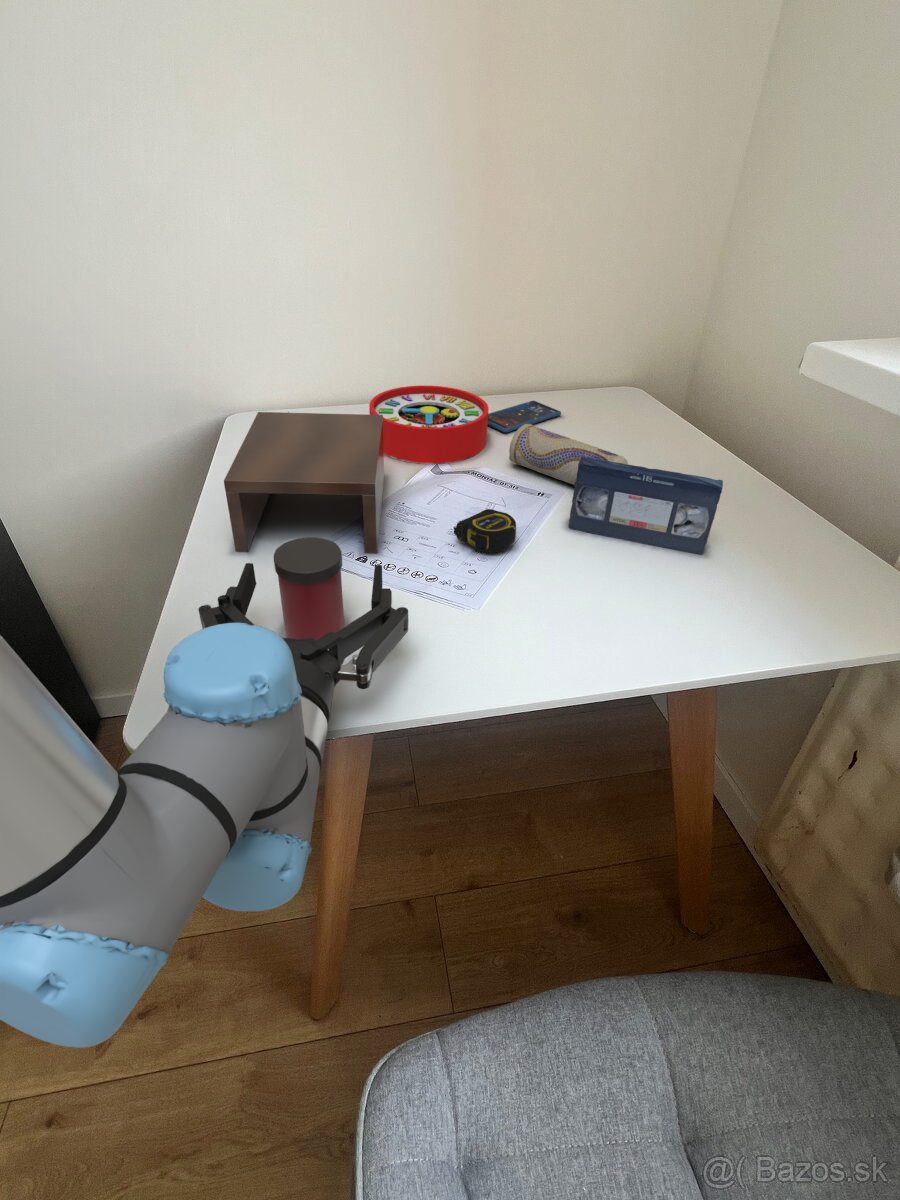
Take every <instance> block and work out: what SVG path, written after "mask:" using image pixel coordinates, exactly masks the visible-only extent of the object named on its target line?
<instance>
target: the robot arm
mask: <svg viewBox="0 0 900 1200" xmlns="http://www.w3.org/2000/svg"><path fill="white" fill-rule="evenodd" d="M373 570H374V571H373V581H372V591H371V599H370V600H371V601H370V602H371V603H370V605H371V609H370V610H368V611H367V612H365V613H364V614H362V615H360V616H359V617H358V618H356V619H354V620H352V621H351V622H350V623H349V624H347V625H344V628H342V629H341V630H339V631H338V632H336V633H333V632H329V633H328V634H326V635H325V636H323V637H322V638H320V639H318V640H317V641H315V638H305V639H298V640H297V639H292V638H286V637H281V635H280V634H278V633H276V632H274V631H273V630H272V629H270V628H267V627H263V626H258V625H256V624H254V623H253V622H252V621H251V620H250V619H249V618H248V617H247V616H246V615H247V614H248V610H249V607H250V604H251V601H252V598H253V595H254V593H255V589H256V586H257V581H256V580H257V579H256V573H255V566H254V563H253V562H246V563H245V564H244V567H243V570H242V573H241V575H240V578H239V580H238V583H237V586H229V587H228V588H227V589H226V592H225V594H222V595H219V596H218V597H217V605H218V606H215V607H212V606H211V605H209V604H203V605H200V606H199V607H198V608H197V609H198V610H197V611H198V614H199V620H200V624H201V628H202V629H200V630H197V631H195V632H193V633H191V634H189V635H187V636H186V637H185V638H183V639H182V640H181V641H180V642H178V643H177V644H176V645H175V646H174V647H173V649H172V650H171V651H170V652H169V654H168V655H167V658H166V661H165V664H164V669H163V684H164V692H163V698H164V700H165V702H166V704H167V705H168V708H167V711H166V713H164V715H163V716H162V718H160V720H159V721H158V722H157V724H156V725H155V726H154V727H153V728H152V729H151V731H149V733H148V734H147V735H146V736H145V737H144V738H143V740H142V741H141V743H139V745H138V746H137V747H136V748H135V750H134V751H133V752H132V753H131V754H130V755H129V757H128V758H127V759H126V760H125V761H124V762H123V764H122V765H121V766H120V767H119V768H118V770H116V769H115V768H114V767H113V766H112V764H111V763H110V762H109V761H108V760H107V758H105V756H104V755H103V754H102V753H101V752H100V751H99V749H98V747H96V746H95V744H94V743H93V742H92V741H91V740H90V738H89V737H88V736H87V735H86V734H85V733H84V732H83V730H82V729H81V728H80V727H79V725H78V724H77V723H76V722H75V721H74V720H73V718H71V716H70V715H69V714H68V713H67V712H66V710H65V709H64V708H63V707H62V705H61V704H60V703H59V702H58V701H57V700H56V698H55V697H54V696H53V695H52V694H51V693H50V691H49V690H48V688H46V687H45V686H44V684H43V683H42V682H41V681H40V680H39V678H38V677H37V676H36V675H35V674H34V673H33V671H32V670H31V669H30V667H28V665H27V664H26V663H25V662H24V661H23V659H22V658H21V657H20V655H18V654H17V652H16V651H15V650H14V649H13V648H12V647H11V645H9V643H8V642H7V640H6V639H5V638H4V637H3V636H2V635H1V634H0V1021H1V1022H4V1023H5V1024H7V1025H9V1026H11V1027H12V1028H14V1029H16V1030H18V1031H20V1032H22V1033H24V1034H26V1035H29V1036H30V1037H33V1038H35V1039H38V1040H41V1041H43V1042H46V1043H48V1044H49V1043H50V1044H53V1045H57V1046H60V1047H67V1048H81V1049H82V1048H90V1047H94V1046H98V1045H100V1044H102V1043H104V1042H105V1041H107V1040H109V1039H110V1038H111V1037H112V1036H114V1034H115V1033H117V1032H118V1031H119V1029H120V1028H121V1027H122V1026H123V1024H124V1022H125V1021H126V1020H127V1018H128V1016H129V1015H130V1013H132V1011H133V1009H134V1008H135V1006H136V1005H137V1004H138V1002H139V1001H140V999H141V998H142V996H143V995H144V993H145V992H146V990H147V989H148V988H149V986H150V984H151V983H152V982H153V980H154V979H155V978H156V976H157V975H158V973H159V972H160V970H161V968H163V967H164V966H166V964H167V963H168V960H169V958H170V953H171V951H172V949H173V947H174V946H175V944H176V942H177V940H178V939H179V937H180V935H181V934H182V932H183V931H184V929H185V927H186V925H187V924H188V922H189V920H190V919H191V917H192V915H193V913H194V912H195V910H196V908H197V907H198V905H199V903H200V901H201V900H202V899H204V900H206V902H209V903H211V904H213V905H215V906H217V907H219V908H222V909H226V910H230V911H235V912H263V911H269V910H272V909H277V908H279V907H280V906H282V905H285V904H286V903H288V902H290V901H291V900H292V899H293V898H294V897H295V896H296V895H297V894H298V892H299V891H300V889H301V888H302V885H303V882H304V877H305V872H306V867H307V863H308V859H309V856H310V855H311V853H312V849H313V848H312V846H311V841H312V833H313V825H314V817H315V811H316V804H317V796H318V789H319V784H320V783H319V782H320V775H321V769H322V764H323V759H324V754H325V747H326V741H327V736H328V729H329V728H328V727H329V726H328V724H329V722H330V715H331V709H332V703H333V696H334V689H335V687H336V686H337V685H338V684H339V683H340V681H346V682H356V687H357V688H358V689H359V690H367V689H368V688H370V686H371V683H372V680H373V675H374V672H376V670H377V669H378V668H379V667H380V665H382V663H383V661H385V659H386V658H388V656H390V653H391V652H392V651H393V650H394V649H395V648H396V646H397V645H398V644H400V642H401V640H402V639H403V638H404V637H405V636H406V635H407V633H408V632H409V609H408V608H407V607H404V606H401V607H397V608H394V607H392V603H393V596H392V594H393V593H392V589H391V588H387V587H386V588H385V587H384V588H383V585H384V583H383V564H380V565H379V564H375V565H374V569H373ZM358 650H360V651H359V653H358V654H354V653H355V652H357V651H358ZM353 654H354V655H353ZM351 655H352V657H351V658H352V659H351V660H350V661H349V662H348V663H347V664H344V662H345V660H346V659H347V658H348V657H350V656H351Z"/></svg>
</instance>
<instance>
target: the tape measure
mask: <svg viewBox="0 0 900 1200" xmlns="http://www.w3.org/2000/svg"><path fill="white" fill-rule="evenodd" d="M453 534H454V535H455V536H456V538H457V540H458V541H459V542H462V543H464V544H466V543H467V544H468V545H469V546H470V547H472V548H473V549H475V550H477V551H481V552H484V553H497V552H502V551H505V550H507V549H509V548H510V547H511V546H512V545H513V544H514V543H515V542H516V537H517V536H516V535H517V522H516V520H515V518H514V517H513V516H512V515H510V514H509V513H507V512H504V511H499V510H496V509H491V508H486V509H484V510H482V511H480V512H478V513H476V514H474V515H472V516H470V517H467V518H464V519H462V520H459V522H457V523H456V525H455V526H453Z"/></svg>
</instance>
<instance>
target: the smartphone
mask: <svg viewBox="0 0 900 1200" xmlns="http://www.w3.org/2000/svg"><path fill="white" fill-rule="evenodd" d="M561 415H562V412H561V410H559V409H555V408H553V407H552V406H551V407H550V406H548V405H546V404H543V403H541V402H539V401H536V400H529V401H526V402H523V403H520V404H516V405H513V406H509V407H506V408H503V409H499V410H496V411H493V412H488V424H487V426H488V427H491V428H493V429H495V430H497V431H500V432H502V433H510V432H513V431H517V430H518V429H519V428H520V427H521V426H523V425H524V424H531V425H535V424H538V423H540V422H544V421H547V420H549V419H553V418H556V417H559V416H561Z"/></svg>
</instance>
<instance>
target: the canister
mask: <svg viewBox="0 0 900 1200" xmlns="http://www.w3.org/2000/svg"><path fill="white" fill-rule="evenodd" d="M341 549H342V548H340V546H339V545H338V544H337V543H335V542H334V541H332V540H330V539H327V538H323V537H316V536H307V537H299V538H294V539H291V540H289V541H286V542H284V543H282V544H281V545H280V546H278V548H276V550H275V551H274V553H273V565H274V571H275V573H276V574H277V581H278V587H279V588H278V589H279V595H280V603H281V610H282V618H283V628H284V633H285V634H284V635H285V638H292V639H297V640H298V639H305V638H315V641H317V640H318V639H320V638H322V637H323V636H325V635H326V634H328V633H329V632H333V633H336V632H338V631H339V630H341V629H342V628H344V627H345V614H344V613H345V612H344V598H343V597H344V596H343V584H342V568H343V553H342V550H341Z"/></svg>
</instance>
